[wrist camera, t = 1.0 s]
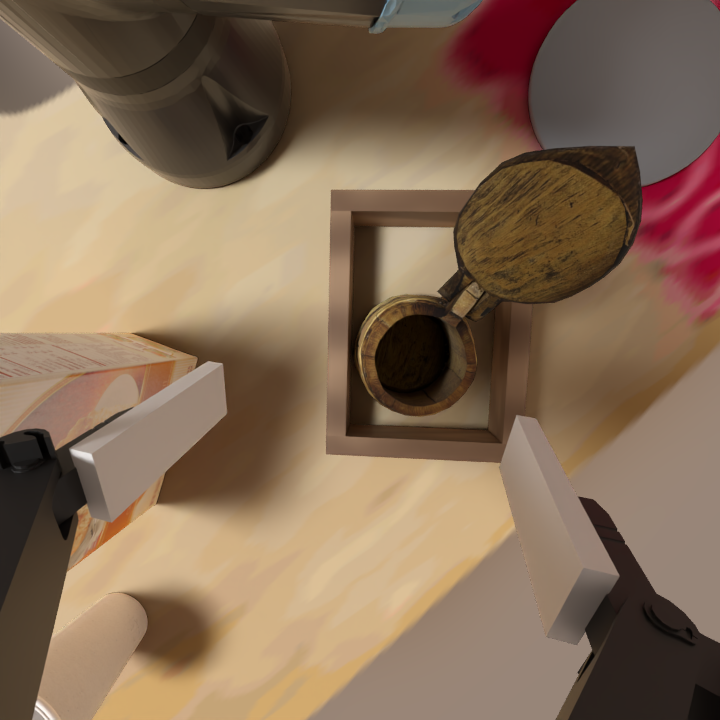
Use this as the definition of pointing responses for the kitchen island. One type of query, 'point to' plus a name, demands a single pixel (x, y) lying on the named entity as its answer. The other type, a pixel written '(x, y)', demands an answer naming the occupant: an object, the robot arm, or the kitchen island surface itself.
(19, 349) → the coffeecake box
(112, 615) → the dixie cup
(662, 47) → the grey mat
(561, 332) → the kitchen island surface
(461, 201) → the frame
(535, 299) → the wooden mug
